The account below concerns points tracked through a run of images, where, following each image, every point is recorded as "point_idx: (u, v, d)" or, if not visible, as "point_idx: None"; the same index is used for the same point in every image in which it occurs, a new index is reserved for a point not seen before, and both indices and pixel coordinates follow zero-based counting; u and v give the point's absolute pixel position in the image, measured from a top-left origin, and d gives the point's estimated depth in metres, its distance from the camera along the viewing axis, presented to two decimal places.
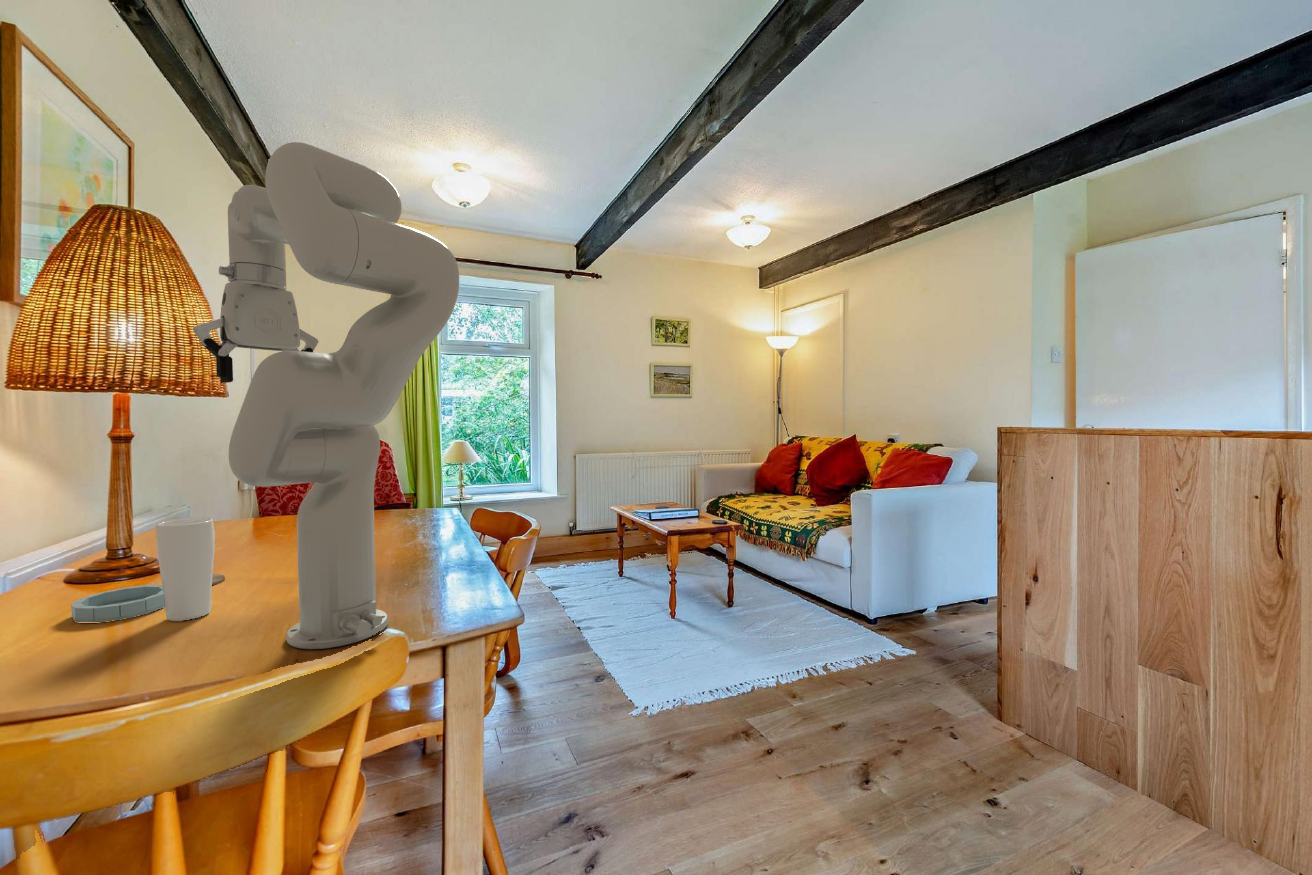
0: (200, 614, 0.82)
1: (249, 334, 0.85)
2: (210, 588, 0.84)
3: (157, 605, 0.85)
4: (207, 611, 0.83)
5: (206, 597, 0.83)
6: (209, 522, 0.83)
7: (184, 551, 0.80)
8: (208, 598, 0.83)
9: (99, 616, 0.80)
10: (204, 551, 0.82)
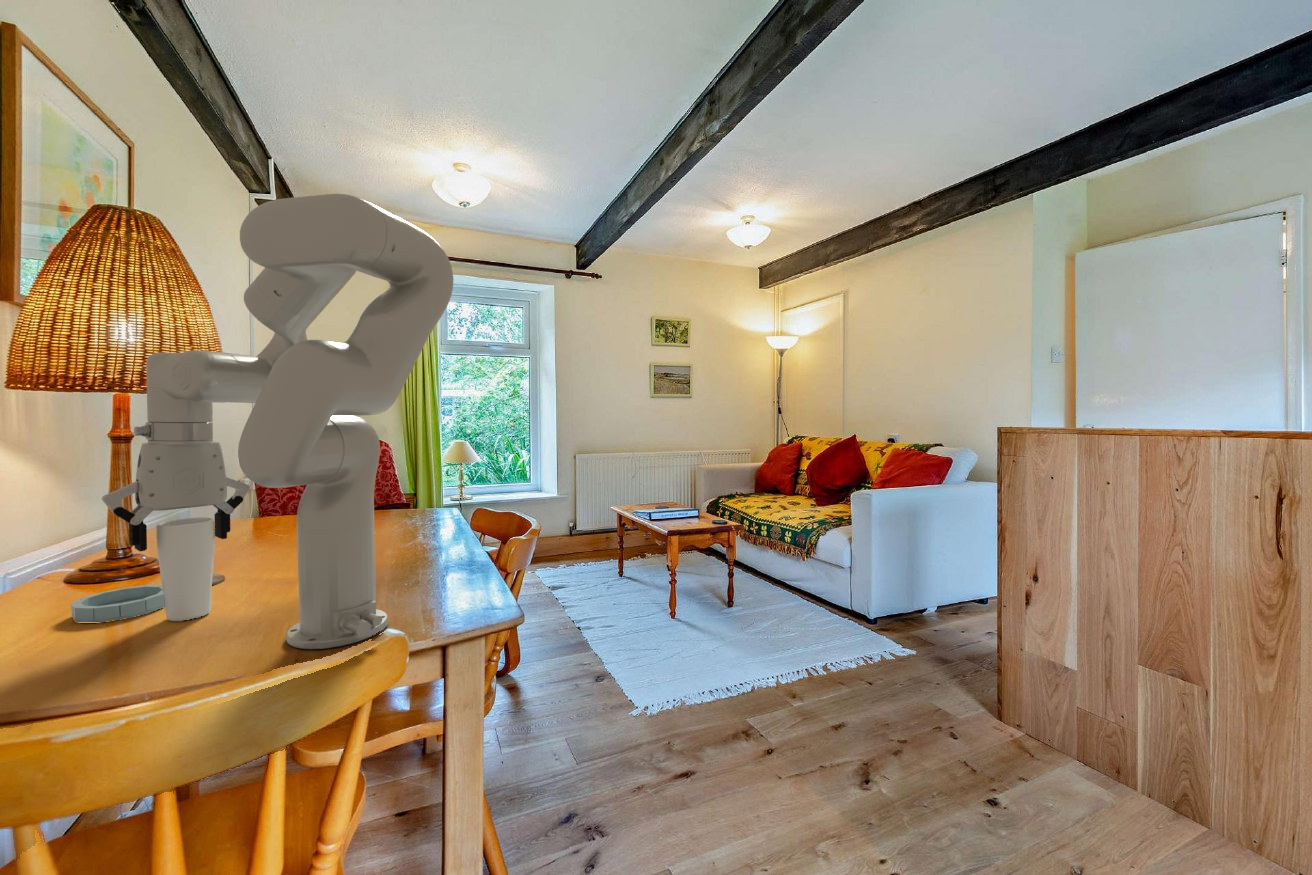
0: (200, 614, 0.82)
1: (166, 498, 0.79)
2: (210, 588, 0.84)
3: (157, 605, 0.85)
4: (207, 611, 0.83)
5: (206, 597, 0.83)
6: (209, 522, 0.83)
7: (184, 551, 0.80)
8: (208, 598, 0.83)
9: (99, 616, 0.80)
10: (204, 551, 0.82)
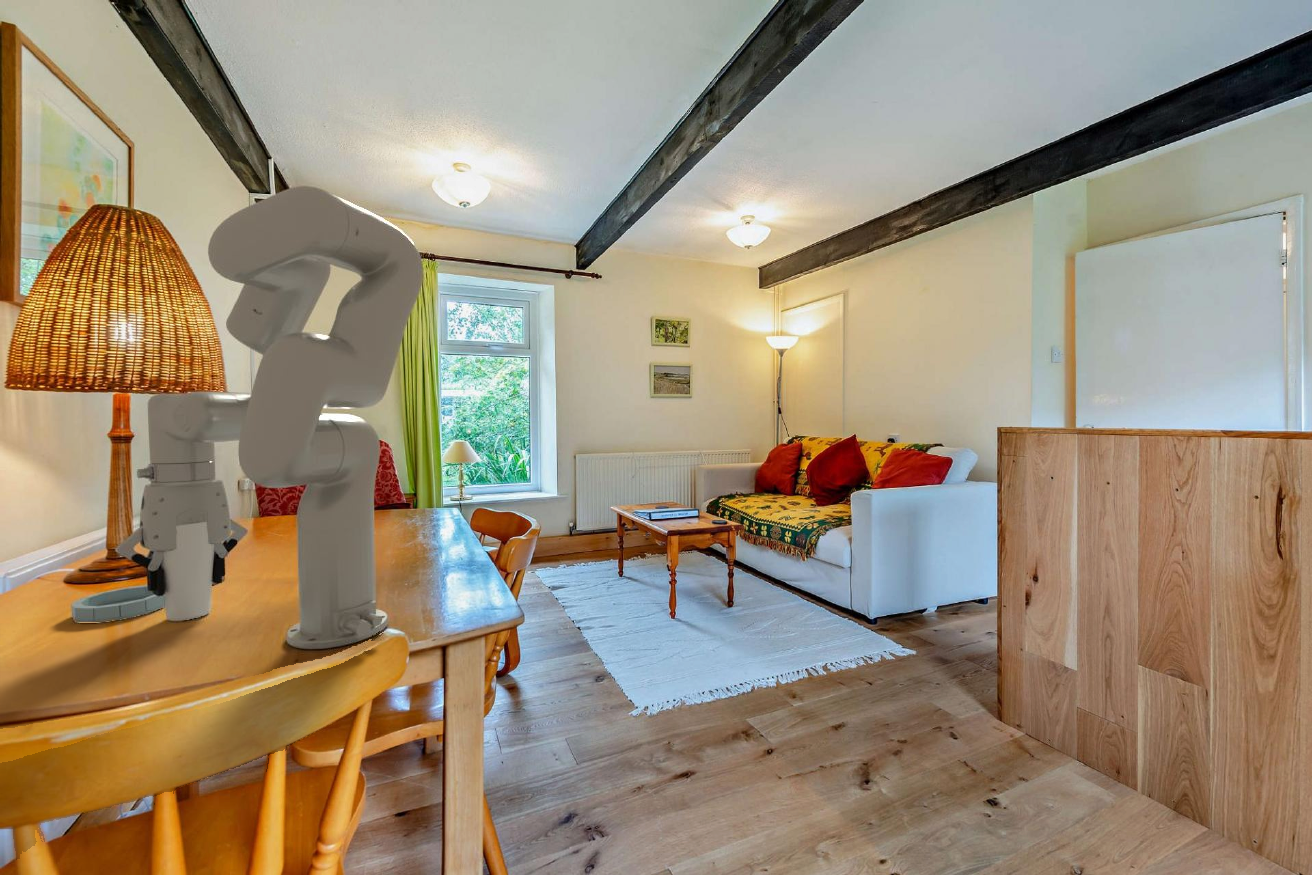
0: (200, 614, 0.82)
1: (170, 539, 0.79)
2: (210, 588, 0.84)
3: (157, 605, 0.85)
4: (207, 611, 0.83)
5: (206, 597, 0.83)
6: None
7: (184, 551, 0.80)
8: (208, 598, 0.83)
9: (99, 616, 0.80)
10: (204, 551, 0.82)
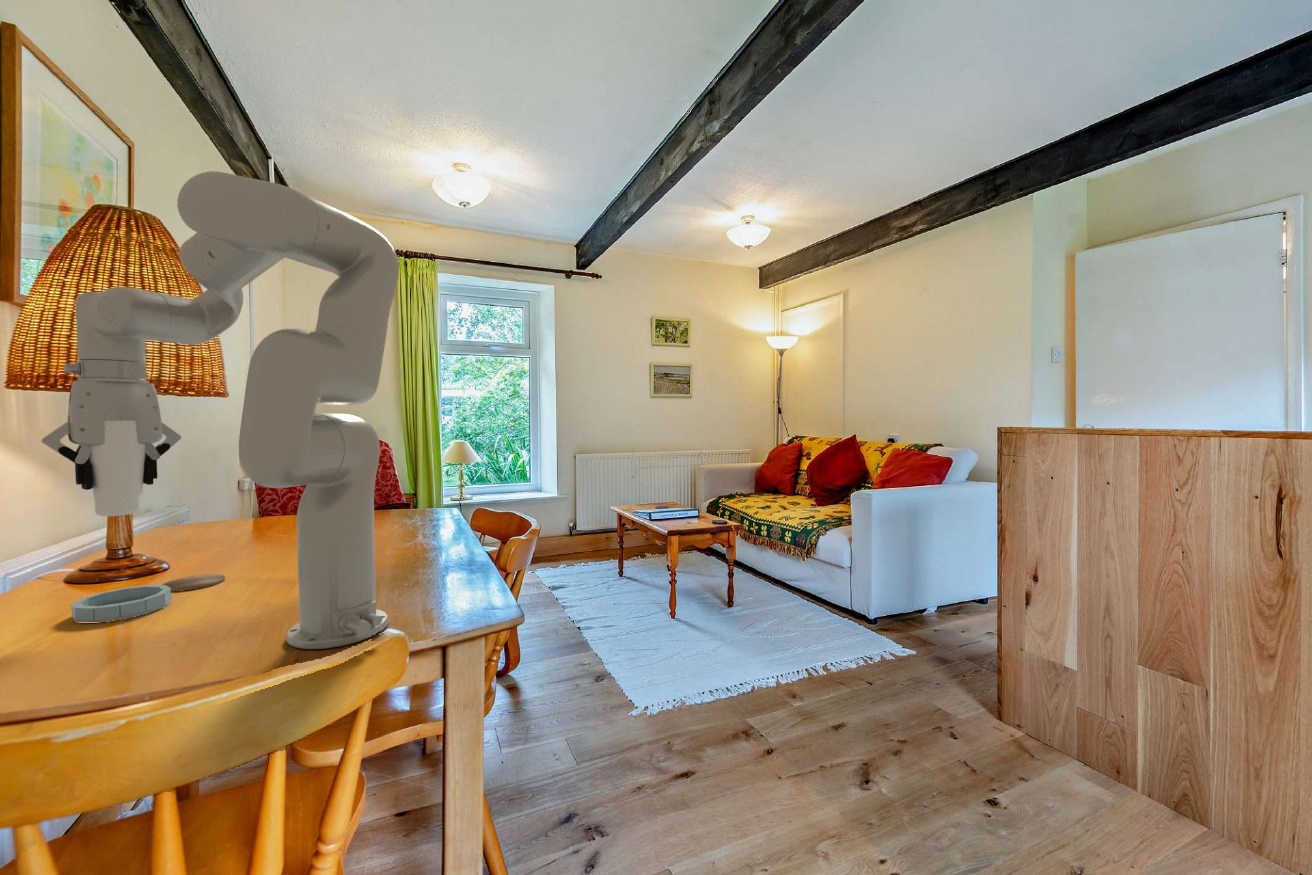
0: (129, 511, 0.84)
1: (97, 434, 0.81)
2: (140, 487, 0.86)
3: (157, 605, 0.85)
4: (137, 509, 0.85)
5: (136, 495, 0.85)
6: None
7: (112, 447, 0.82)
8: (138, 497, 0.85)
9: (99, 616, 0.80)
10: (133, 449, 0.84)
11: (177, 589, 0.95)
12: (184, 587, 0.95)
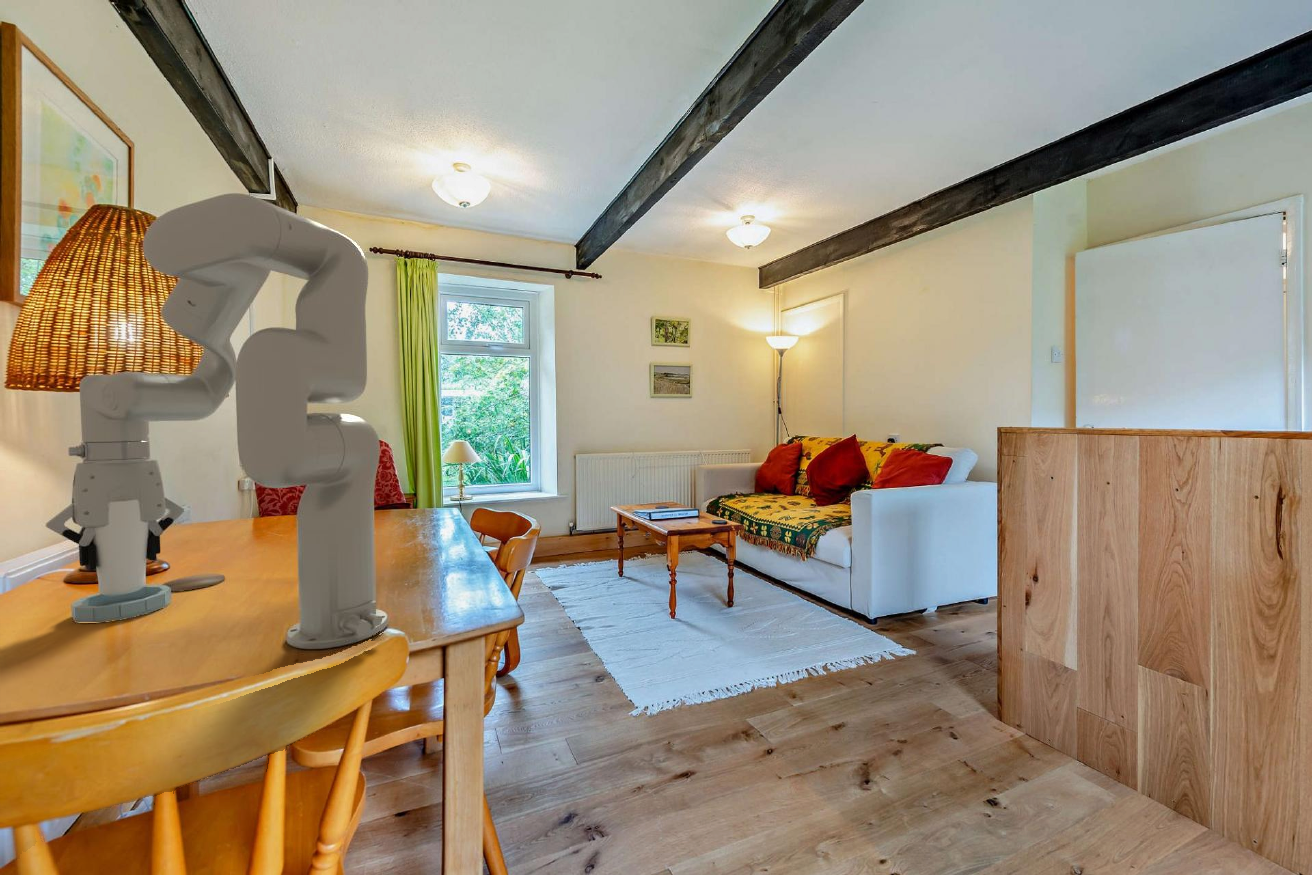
0: (133, 589, 0.84)
1: (101, 516, 0.81)
2: (143, 564, 0.86)
3: (157, 605, 0.85)
4: (140, 586, 0.86)
5: (139, 573, 0.85)
6: None
7: (116, 528, 0.82)
8: (142, 574, 0.86)
9: (99, 616, 0.80)
10: (136, 528, 0.84)
11: (177, 589, 0.95)
12: (184, 587, 0.95)
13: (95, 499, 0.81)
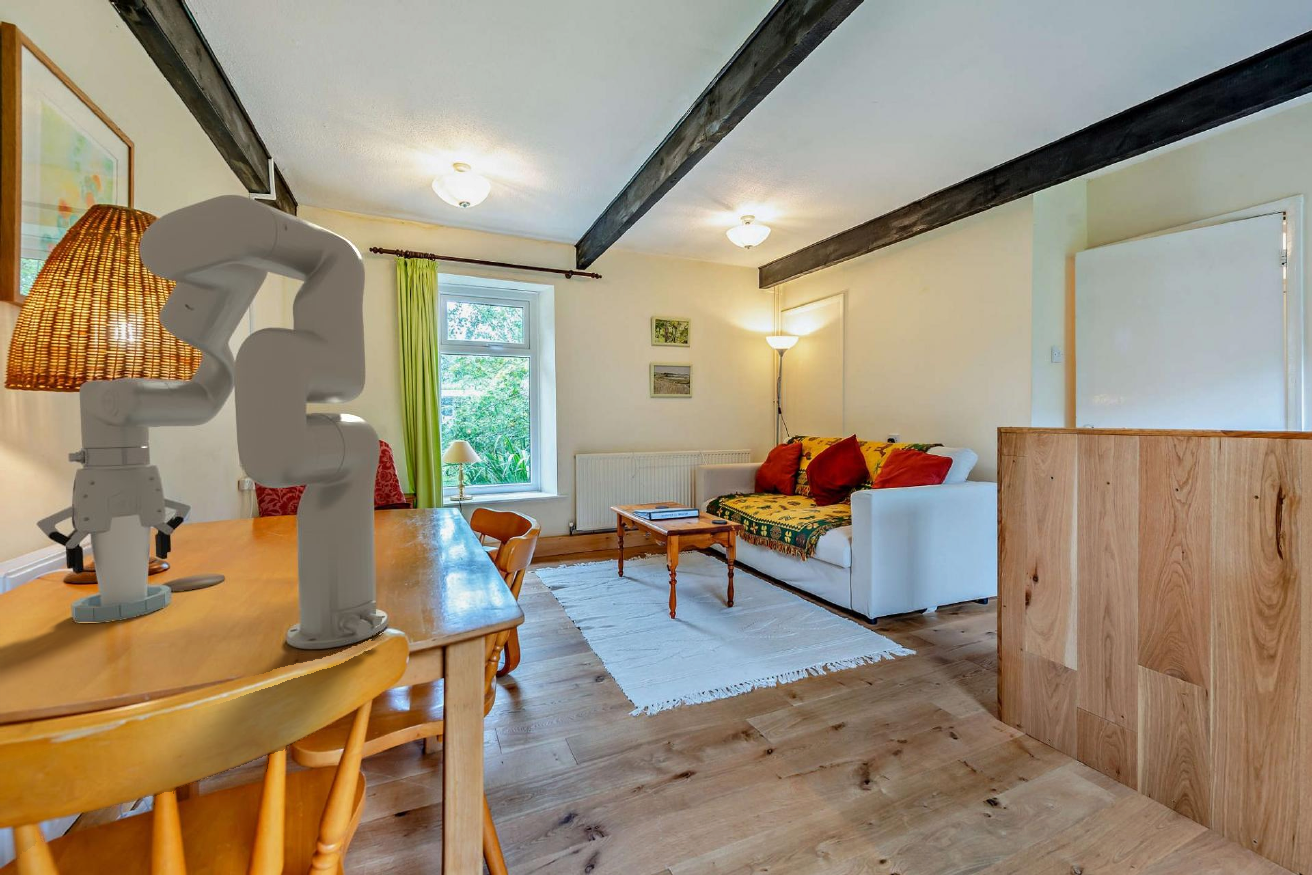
0: None
1: (101, 521, 0.81)
2: (145, 579, 0.86)
3: (157, 605, 0.85)
4: None
5: (141, 588, 0.85)
6: None
7: (117, 543, 0.82)
8: (143, 589, 0.86)
9: (99, 616, 0.80)
10: (138, 543, 0.84)
11: (177, 589, 0.95)
12: (184, 587, 0.95)
13: (95, 505, 0.81)
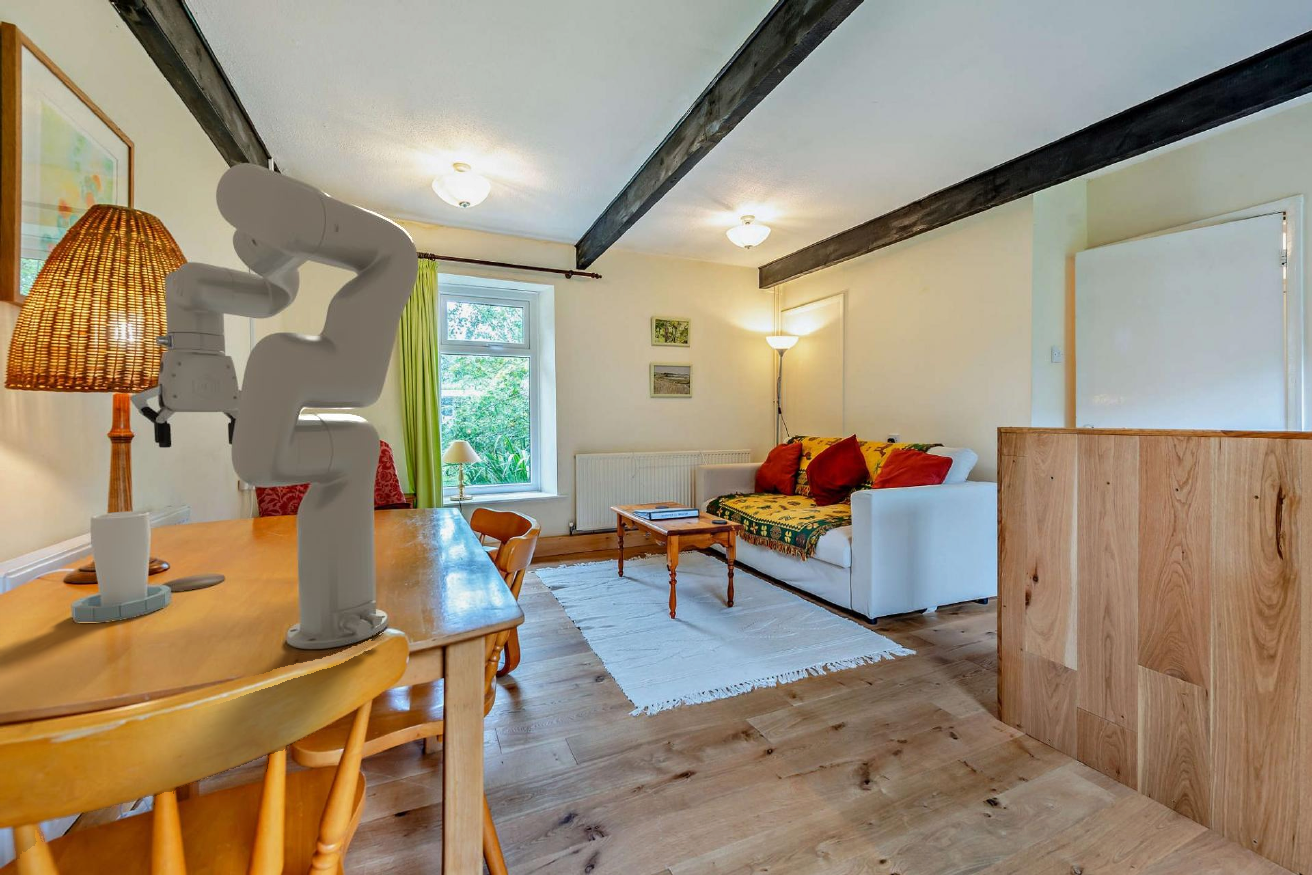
0: None
1: (187, 400, 0.88)
2: (145, 579, 0.86)
3: (157, 605, 0.85)
4: None
5: (141, 588, 0.85)
6: (144, 515, 0.85)
7: (118, 544, 0.82)
8: (143, 589, 0.86)
9: (99, 616, 0.80)
10: (138, 543, 0.84)
11: (177, 589, 0.95)
12: (184, 587, 0.95)
13: (182, 384, 0.87)
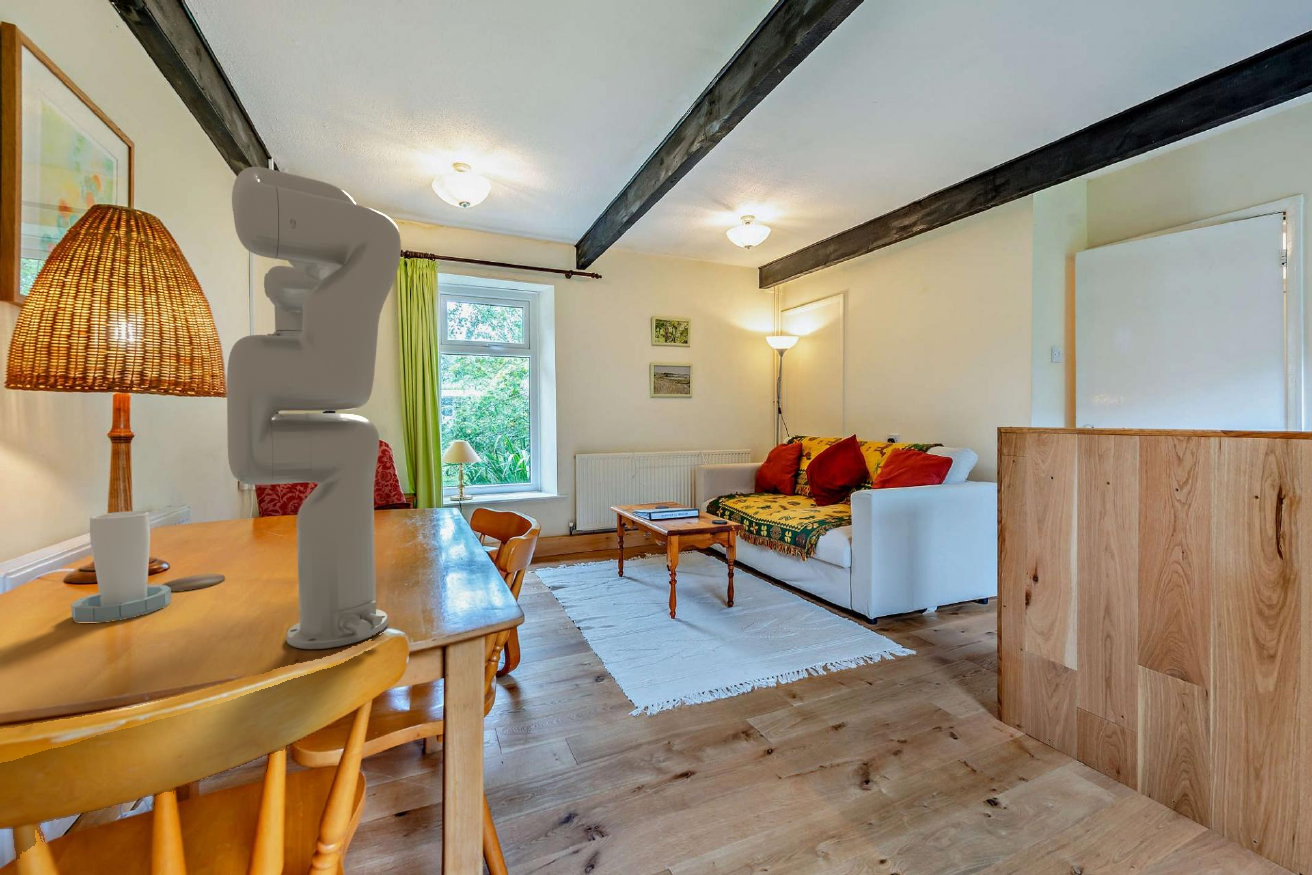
0: None
1: None
2: (145, 579, 0.86)
3: (157, 605, 0.85)
4: None
5: (141, 588, 0.85)
6: (143, 515, 0.85)
7: (117, 544, 0.82)
8: (143, 589, 0.86)
9: (99, 616, 0.80)
10: (138, 543, 0.84)
11: (177, 589, 0.95)
12: (184, 587, 0.95)
13: None
